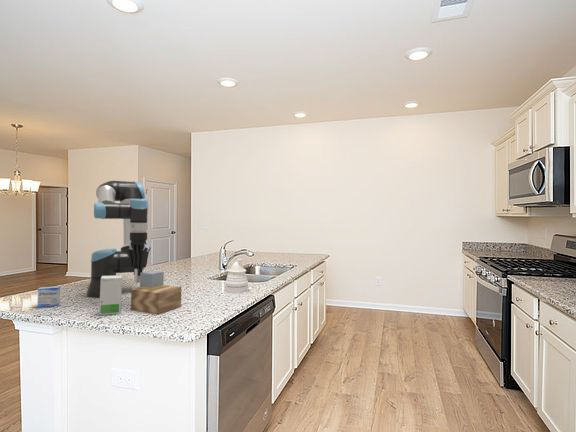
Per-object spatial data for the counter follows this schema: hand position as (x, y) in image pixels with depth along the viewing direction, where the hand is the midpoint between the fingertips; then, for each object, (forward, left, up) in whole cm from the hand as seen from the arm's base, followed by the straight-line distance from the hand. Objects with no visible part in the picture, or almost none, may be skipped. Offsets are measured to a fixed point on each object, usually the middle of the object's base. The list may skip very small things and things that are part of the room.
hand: (137, 282), depth 158 cm
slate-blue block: (+8, 0, -2) cm, 9 cm away
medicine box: (-34, -19, -11) cm, 40 cm away
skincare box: (-1, -14, -11) cm, 18 cm away
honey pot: (+25, +46, -11) cm, 54 cm away
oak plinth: (+11, 0, -11) cm, 16 cm away
